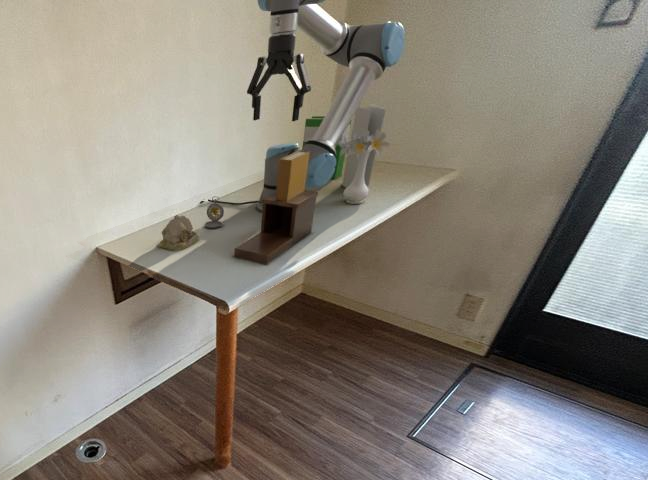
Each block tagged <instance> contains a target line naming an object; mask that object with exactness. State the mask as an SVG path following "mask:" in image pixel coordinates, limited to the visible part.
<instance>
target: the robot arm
mask: <svg viewBox="0 0 648 480" xmlns="http://www.w3.org/2000/svg"><path fill="white" fill-rule="evenodd" d="M325 1H326V0H257V5H258V7H259V9H260V10H261V11H263V12H270V17H269V30H268V33H269V35H270V36H269V38H268V44H267V57H266V56H260V57H258V58H257V63H256V67H255V71H254V72H253V75H252V77H251V80H250V82H249V84H248V88H247V90H246V93H247V95H250V96H251V108H252V109H253V115H252V116H253V117H252V121H258V120H260V117H261V106H262V105H261V104H262V103H261V102H262V95H260V93H261V91H262V90H263V89H264V87H265V86H266V84H267V83H268V82H269V80H270V78H271V77H272V76H275V75H285V76H286V77H287V78H288V81H289V82H290V84H291V86H292V87H293V89H294V91H295V93H296V95H294V97H293V107H292V115H291V116H292V117H291V122H296V121H298V120H299V118H300V110H301V108H303V104H304V97H305V94H307V93H309V92H311V90H312V87H311V83H310V80H309V75H308V72H307V67H306V64H305V54H304V53H303V52H302V53H298V54H295V48H296V39H297V35H296V33H295V32H296V31H297V30H299V32H301V33H302V34H304V35H305V36H306V37H308V38H309V39H310V40H312V41H313V42H314V43H315V44H316V45H318V46H319V47H320V48H319V49H320V51H321V53H322V54H323V55H324V56H326V57H327V58H328V59H330V60H332V61H334V62H335V63H337V64H339V65H342V66H343V67H347V68H349V72H348V73H347V75H346V78H345V79H344V81H343V83H342V85H341V87H340V88H339V90H338V92H337V94H336V95H335V97H334V99H333V101H332V103H331V105H330V107H329V108H328V110H327V112H326V114H325V115H324V116H325V118H324V119H323V121H322V123H321V125H320V127H319V128H318V130H317V132H316V134H315V136H314V138H312V139H310V140H307V142H306V143H305V145H304V147H303V149H299V148H300V146H299V145H300V144H299V143H298V142H289V143H287V142H286V143H281V144H275V145H272V146H269V147H268V148H267V150H266V152H265V158H264V174H263V186H262V187H263V188H262V191H261V193H260V196H259V198H258V200H252V201H251V200H250V201H244V202H230V201H220V200H218V201H217V202H216V203H218V204H224V205H233V206H243V205H248V204H250V205H251V204H257V210H258V211H259V212H261V213H262V207H263V203H262V199H263V198H265V197H267V196H269V195H271V194H273V193H274V192H276V190H277V179H278V169H279V159H282V158H284V157H286V156H288V155H290V154H292V153H294V152H297V151H299V152H305V153H307V152H310V153H309V160H308V168H307V175H306V183H305V189H314V190H315V189H320V188H322V187H323V186H325V185H326V184H327V183H328V182H329V181H330V180H331V179H330V178H331V177H332V175H333V173H334V171H335V168H334V167H335V166H336V158H335V156H336V151H335V147H336V146H337V144H338V142H339V140H340V139H341V137H342V135H343V133H344V132H345V130H346V128H347V126H348V124H349V123H350V121H351V122H352V119H353V117H355V114H356V110H357V109H358V107H359V106H361V103H362V102H363V100H364V98H365V96H366V95H367V93H368V91H369V89H370V87H371V86H372V84H373V82H374V81H377V80H379V79H380V78H381V77H382V76H383V74H384V72H385V70H386V69H387V68H391V67H393V66H395V65H396V64H397V63H398V62H399V60H400V59H401V57H402V55H403V51H404V47H405V40H406V34H405V33H406V32H405V28H404V26H403V25H402V23H401V22H398V21H390V20H389V21H386V22H382V23H379V22H378V23H369V24H368V23H367V24H359V25H357V24H355V25H354V24H353V25H352V24H347V23H346V22H345V21H343V20H336V19H335V18H334V17H333V16H331V14H329V13H328V12H327V11H325V10H324V9H323V8H322V7H321V6H319V5H318V4H320V3H324V2H325ZM293 63H294V64H295V66H296V70H297V73H298V76H297V74H296V72H295V69H294V67H293ZM266 65H267V68H266V69H265V67H266ZM264 69H265V71H264ZM263 71H264V74H263ZM262 74H263V75H262ZM298 77H299V78H298ZM207 199H208V198H207ZM213 200H214V199H213ZM213 200H212V199H208V201H207V202H209V203H215V202H214V201H213ZM204 202H205V201H202V200H201V201H199V204H203V203H204Z"/></svg>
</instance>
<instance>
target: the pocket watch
mask: <svg viewBox="0 0 648 480" xmlns="http://www.w3.org/2000/svg"><path fill="white" fill-rule="evenodd" d="M216 198H217V199H216ZM211 200H213V201H214V202H215V203H214V202H212V203H211V204H209V205H208V207H207V209H206V216H207V218H208V219H209V220H208V221H206V222H205V223H204V227H205V228H207V229H217V228H221V227H222V226H223V222H222V221H220V220H221V219H222V218H223V217H224V214H225V211H224V206H222V205H221V203H216V202H217V201H220V198H219V197H218V196H212V197H211Z"/></svg>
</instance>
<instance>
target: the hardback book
mask: <svg viewBox="0 0 648 480" xmlns="http://www.w3.org/2000/svg"><path fill="white" fill-rule="evenodd" d="M325 116H326V115H312V116H311V118H306V119H305V123H304V130H303V131H304V132H303V140H302V149H303V147H304V145H305V143H306V142H307V140H310V139H312V138H314V136H315V134H316V132H317V130H318V128H319V127H320V125H321V123H322V121H323V119H324V118H325ZM351 125H352V120H351V121H350V123H349V124H348V126H347V128H346V130H345V132H344V133H343V135H342V137H341V139H340V140H339V142H340V141H344V142H345V140H344V135H345V134H346V135H347V137H348V138H349V134H350V130H351ZM339 142H338V143H339ZM343 148H344V147H340V146H339V145H338V144H337V146H336V147H335V151H336V156H335V158H336V166H335V167H334V168H335V171H334V173H333V175H332V177H331V178H330V180H336V179H338V178H339V177H341V176H342V172H343V167H344V162H345V157H346V152H345V153H344V154H343V155H342V156H340V153H341V150H342V149H343ZM302 149H301V150H302Z"/></svg>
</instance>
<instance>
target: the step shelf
mask: <svg viewBox="0 0 648 480" xmlns="http://www.w3.org/2000/svg"><path fill="white" fill-rule="evenodd" d="M318 194H319V191H315V190H307V189H305V190H304V192H302V193H300V194H299V195H297V196H295V197H293V198H292V199H290V200H288V201H280V200H276V192H274V193H273V194H271V195H269V196H267V197H265V198H263V199H262V203H263V207H262V212H261V221H260V222H261V223H260V231H259V232H258V233H257V234H255V235H254V236H251V237H250V238H249V239H247V240H244V241H243V242H242V243H241V244H239V245H237V246H236V247H234V258H238V259H242V260H246V261H250V262H254V263H259V264H263V265H265V266H266V265H268V264H270V263H271V262H273V261H274V260H276V259H277V258H278V257H280V256H281V255H283V254H284V253H285V252H287V251H288V250H290V249H291V248H292V247H294V246H295V245H296V244H298V243H299V242H301V241H302V240H303V239H305V238H307V237H308V236H309V235H311V233H312V229H313V222H314V215H315V209H316V202H317V197H318V196H319V195H318Z"/></svg>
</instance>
